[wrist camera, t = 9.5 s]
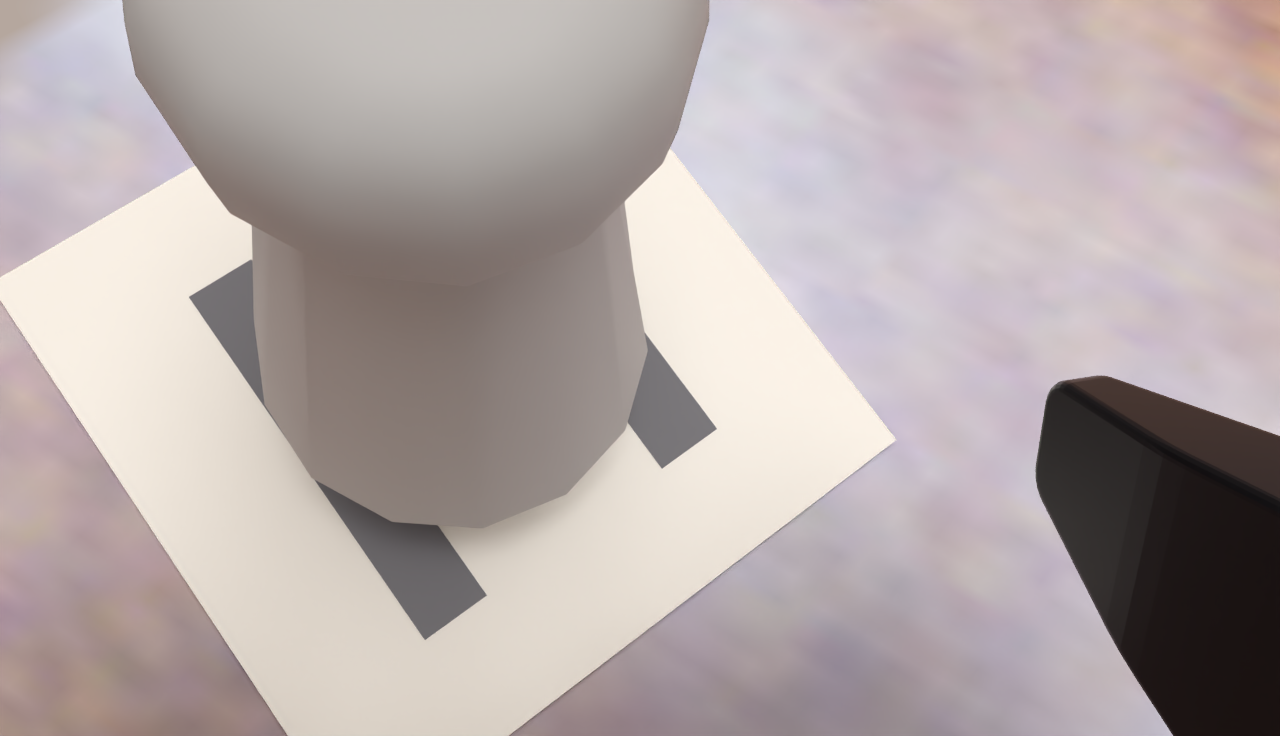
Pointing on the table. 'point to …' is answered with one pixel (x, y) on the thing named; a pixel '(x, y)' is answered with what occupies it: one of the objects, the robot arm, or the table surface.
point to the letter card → (420, 553)
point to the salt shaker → (433, 224)
